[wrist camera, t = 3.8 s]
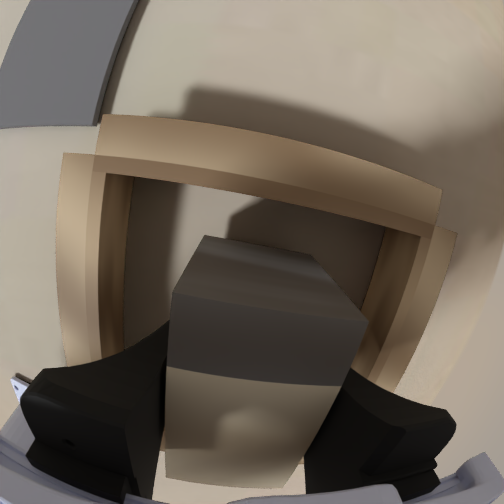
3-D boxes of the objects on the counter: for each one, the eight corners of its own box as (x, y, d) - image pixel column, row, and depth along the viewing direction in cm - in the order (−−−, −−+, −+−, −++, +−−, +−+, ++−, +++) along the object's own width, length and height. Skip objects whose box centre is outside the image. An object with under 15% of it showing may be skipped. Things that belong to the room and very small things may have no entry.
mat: (96, 126, 11) (91, 125, 10) (-11, 129, 10) (-16, 129, 10) (154, -31, 8) (152, -35, 8) (38, -5, 8) (35, -8, 7)
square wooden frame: (335, 429, 16) (347, 461, 13) (99, 396, 15) (83, 427, 12) (427, 193, 12) (464, 200, 9) (104, 124, 11) (71, 114, 8)
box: (268, 395, 14) (282, 488, 8) (185, 384, 13) (165, 477, 8) (310, 254, 12) (368, 321, 6) (204, 235, 12) (172, 291, 6)
